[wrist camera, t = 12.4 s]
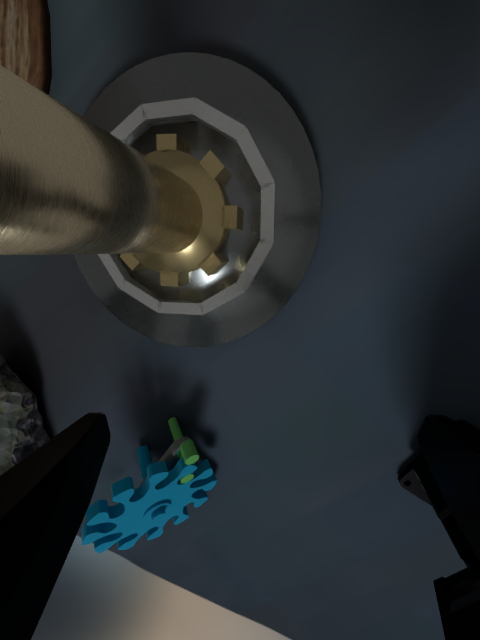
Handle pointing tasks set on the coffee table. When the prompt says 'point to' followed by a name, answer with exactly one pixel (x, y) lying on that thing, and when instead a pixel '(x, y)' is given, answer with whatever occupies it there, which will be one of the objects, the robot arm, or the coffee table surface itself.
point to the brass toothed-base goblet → (106, 191)
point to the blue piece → (151, 496)
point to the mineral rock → (17, 420)
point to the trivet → (26, 41)
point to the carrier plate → (242, 189)
